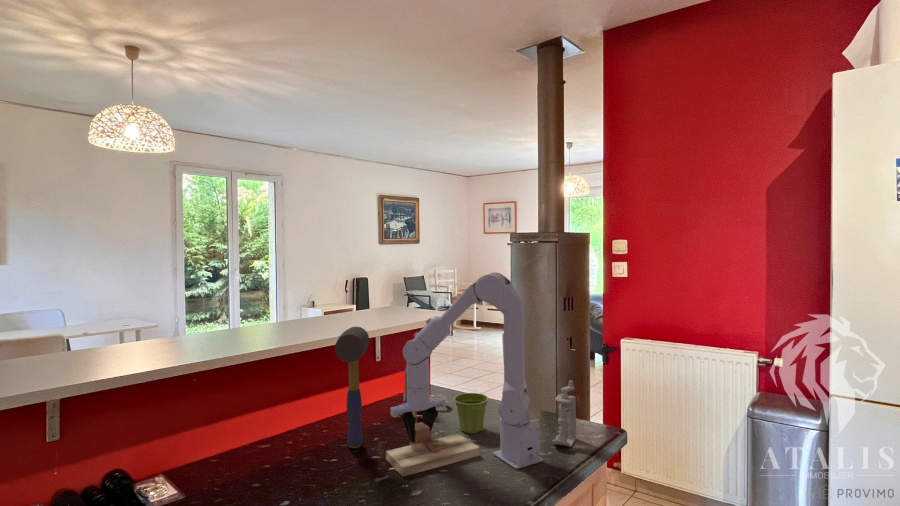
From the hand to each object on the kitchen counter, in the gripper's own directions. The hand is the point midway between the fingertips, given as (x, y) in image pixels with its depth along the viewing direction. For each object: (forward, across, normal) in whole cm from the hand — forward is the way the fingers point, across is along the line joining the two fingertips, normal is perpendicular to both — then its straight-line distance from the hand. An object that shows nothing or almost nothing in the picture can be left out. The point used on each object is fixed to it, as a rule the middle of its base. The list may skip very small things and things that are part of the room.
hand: (419, 439), depth 123 cm
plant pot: (+2, -17, -2) cm, 17 cm away
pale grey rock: (+2, -17, -24) cm, 29 cm away
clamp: (+2, -32, +18) cm, 37 cm away
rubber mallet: (+2, +14, -8) cm, 16 cm away
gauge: (+2, 0, +4) cm, 4 cm away
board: (+2, 0, +8) cm, 8 cm away
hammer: (+2, -7, -18) cm, 20 cm away
